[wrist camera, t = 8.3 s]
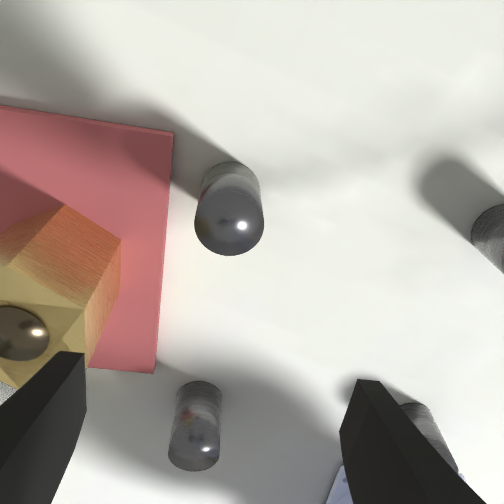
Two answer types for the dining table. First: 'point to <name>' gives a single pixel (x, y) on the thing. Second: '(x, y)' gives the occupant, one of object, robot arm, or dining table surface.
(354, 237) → the dining table surface
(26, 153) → the red mat
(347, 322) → the dining table surface
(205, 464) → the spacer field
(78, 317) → the brass nut
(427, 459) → the robot arm
